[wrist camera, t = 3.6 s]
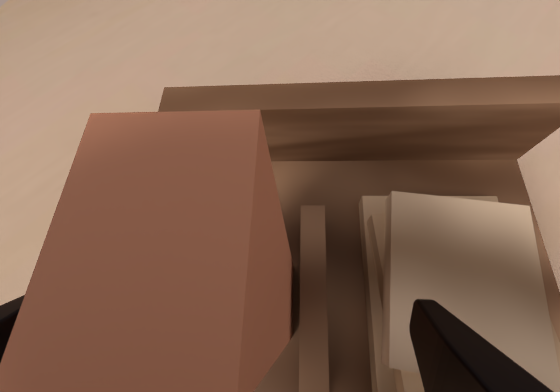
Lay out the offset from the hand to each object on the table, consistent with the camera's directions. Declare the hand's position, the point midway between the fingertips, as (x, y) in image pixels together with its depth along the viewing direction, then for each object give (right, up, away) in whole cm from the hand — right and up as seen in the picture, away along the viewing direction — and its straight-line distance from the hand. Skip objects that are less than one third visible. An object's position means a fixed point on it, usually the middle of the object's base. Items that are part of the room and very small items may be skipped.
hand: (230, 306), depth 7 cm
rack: (+5, -1, +9) cm, 11 cm away
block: (+1, -3, +8) cm, 9 cm away
